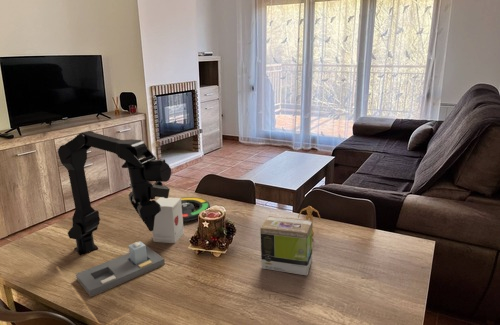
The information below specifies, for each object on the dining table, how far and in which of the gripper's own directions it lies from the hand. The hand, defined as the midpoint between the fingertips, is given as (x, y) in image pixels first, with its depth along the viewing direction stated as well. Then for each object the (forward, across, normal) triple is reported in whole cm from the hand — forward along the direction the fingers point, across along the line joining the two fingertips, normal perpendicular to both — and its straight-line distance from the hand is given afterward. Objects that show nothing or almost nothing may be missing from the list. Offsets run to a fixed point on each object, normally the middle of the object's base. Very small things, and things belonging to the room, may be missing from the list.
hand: (148, 226), depth 117 cm
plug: (+13, +1, +5) cm, 14 cm away
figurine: (+17, -12, -55) cm, 59 cm away
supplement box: (+13, +15, -9) cm, 22 cm away
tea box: (+17, -24, -37) cm, 47 cm away
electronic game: (+13, +34, -22) cm, 43 cm away
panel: (+13, 0, +11) cm, 17 cm away
